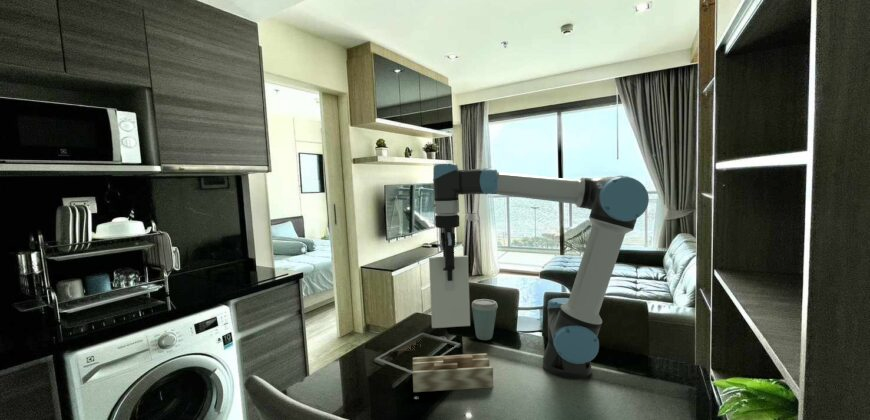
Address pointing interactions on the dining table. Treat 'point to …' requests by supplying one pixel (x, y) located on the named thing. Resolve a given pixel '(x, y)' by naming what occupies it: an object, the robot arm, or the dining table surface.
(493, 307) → the disposable coffee cup
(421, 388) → the rack
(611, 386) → the dining table surface
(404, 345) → the picture frame
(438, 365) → the offcut front
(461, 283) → the tall sheet
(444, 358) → the offcut near sheet
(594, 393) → the dining table surface
